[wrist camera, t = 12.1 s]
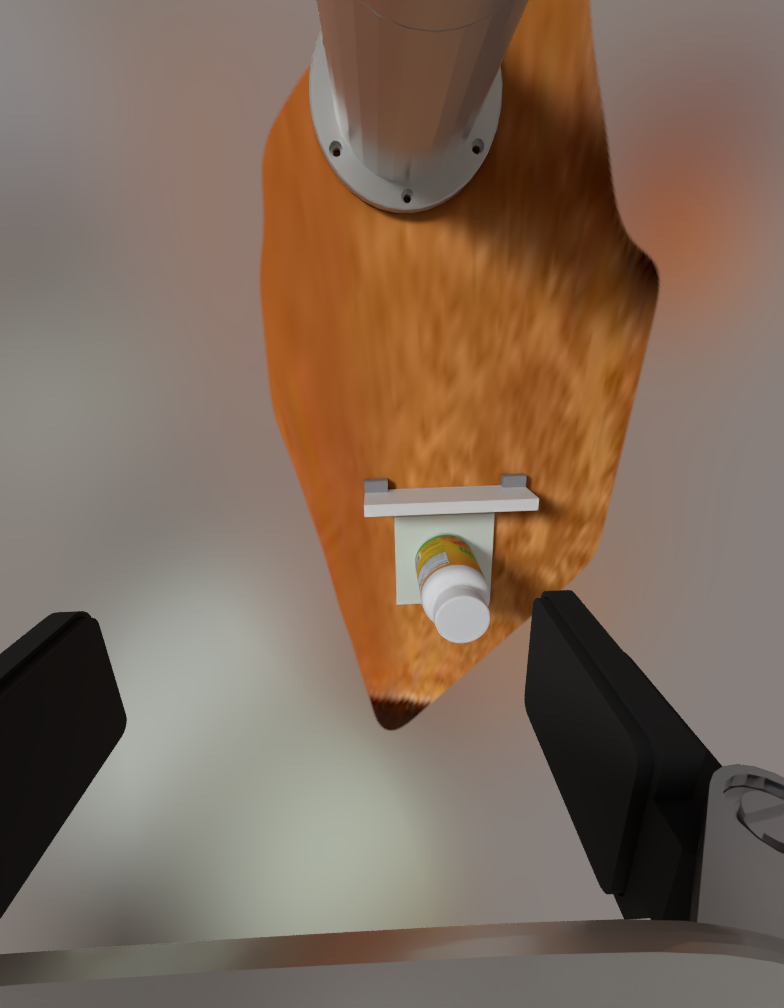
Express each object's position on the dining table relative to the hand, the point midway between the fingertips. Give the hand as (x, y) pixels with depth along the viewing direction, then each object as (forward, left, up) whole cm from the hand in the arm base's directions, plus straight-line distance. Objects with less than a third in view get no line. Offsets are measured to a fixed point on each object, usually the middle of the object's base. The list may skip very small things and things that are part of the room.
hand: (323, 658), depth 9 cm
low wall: (+6, +7, -28) cm, 30 cm away
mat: (+12, +7, -28) cm, 32 cm away
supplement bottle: (+12, +7, -28) cm, 31 cm away
